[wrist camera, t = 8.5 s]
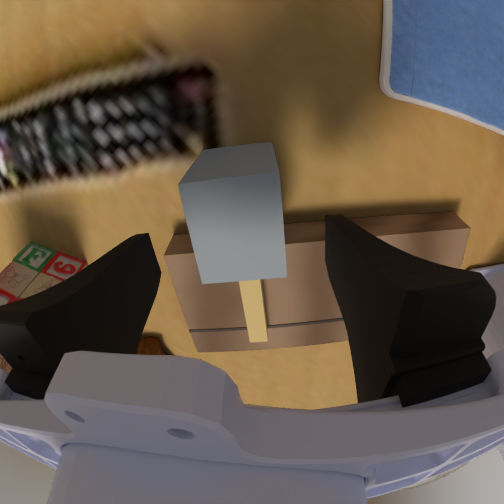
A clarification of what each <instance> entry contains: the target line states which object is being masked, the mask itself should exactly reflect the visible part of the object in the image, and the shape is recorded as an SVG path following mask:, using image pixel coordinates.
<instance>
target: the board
mask: <svg viewBox="0 0 504 504" xmlns="http://www.w3.org/2000/svg"><path fill="white" fill-rule="evenodd" d="M349 220H351V221H352V222H354V223H355V224H357V225H358V226H360V227H361V228H363V229H365V230H366V231H368V232H369V233H371V234H372V235H374V236H376V237H377V238H379V239H381V240H383V241H385V242H386V243H388V244H390V245H392V246H394V247H396V248H398V249H400V250H403V251H405V252H407V253H409V254H412V255H414V256H417V257H420V258H422V259H425V260H428V261H431V262H434V263H438V264H441V265H445V266H449V267H453V268H457V269H460V266H461V263H462V260H463V256H464V253H465V249H466V245H467V241H468V237H469V233H470V229H471V228H470V227H469V226H468V225H467V224H466V223H465V222H464V221H462V220H461V219H460V218H459V217H458V216H457V215H456V214H455V213H454V212H440V213H422V214H406V215H390V216H376V217H362V218H349ZM284 237H285V252H286V268H287V277H284V278H272V279H261V281H262V289H263V297H264V306H265V314H266V322H267V331H268V341H266V342H251V343H250V340H249V335H248V329H247V324H246V318H245V313H244V308H243V302H242V297H241V291H240V286H239V281H236V282H223V283H209V284H202V281H201V277H200V273H199V270H198V266H197V262H196V258H195V254H194V250H193V246H192V242H191V238H190V234H180V235H173V237H172V239H171V241H170V243H169V245H168V248H167V250H166V252H165V254H164V258H165V261H166V265H167V268H168V271H169V274H170V277H171V280H172V283H173V286H174V289H175V292H176V295H177V297H178V300H179V303H180V306H181V309H182V312H183V314H184V317H185V320H186V323H187V325H188V328H189V332H190V333H191V336H192V339H193V341H194V344H195V346H196V349H197V351H198V352H224V351H245V350H262V349H275V348H287V347H298V346H308V345H317V344H325V343H333V342H341V341H348V335H347V330H346V327H345V323H344V320H343V317H342V314H341V311H340V308H339V306H338V303H337V300H336V297H335V294H334V291H333V289H332V286H331V283H330V280H329V276H328V272H327V267H326V262H325V220H324V221H312V222H300V223H289V224H284Z"/></svg>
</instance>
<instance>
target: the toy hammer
mask: <svg viewBox="0 0 504 504" xmlns="http://www.w3.org/2000/svg"><path fill="white" fill-rule="evenodd" d="M178 187H179V191H180V196H181V200H182V204H183V209H184V213H185V217H186V222H187V226H188V230H189V234H190V238H191V242H192V246H193V250H194V254H195V258H196V262H197V266H198V270H199V273H200V277H201V281H202V284H209V283H223V282H236V281H239V286H240V291H241V297H242V302H243V308H244V313H245V318H246V324H247V329H248V335H249V340H250V343H251V342H266V341H268V331H267V322H266V314H265V306H264V297H263V289H262V281H261V279H272V278H284V277H287V268H286V252H285V237H284V223H283V210H282V197H281V185H280V173H279V168H278V164H277V160H276V156H275V152H274V148H273V144H272V142H264V143H254V144H245V145H236V146H228V147H221V148H213V149H206V150H202V152H201V153H200V154H199V156H198V157H197V159H196V160H195V161H194V163H193V164H192V165H191V167H190V168H189V170H188V171H187V172H186V174H185V175H184V177H183V178H182V179H181V181H180V182H179V184H178Z"/></svg>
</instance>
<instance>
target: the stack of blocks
mask: <svg viewBox="0 0 504 504" xmlns="http://www.w3.org/2000/svg"><path fill="white" fill-rule="evenodd" d="M87 266H88V264H87V262H85V261H82V260H79V259H77V258H74V257H71V256H68V255H65V254H63V253H60V252H56V251H53V250H51V249H48V248H45V247H43V246H40V245H38V244H35V243H33V242H30V243H29V244H28V245H27V246H26V247H25V248H24V249H23V250H21V251H20V252H19V253H18V254H17V255H16V257H15V258H13V260H12V262H11V263H10V264H9V265H8V266H7V267H6V268H5V269H4V270H3V271H2V272H1V273H0V306H1V305H5V304H8V303H11V302H14V301H18V300H21V299H24V298H26V297H29V296H32V295H34V294H37V293H39V292H41V291H44V290H46V289H48V288H50V287H52V286H54V285H56V284H58V283H60V282H62V281H64V280H66V279H67V278H69V277H71V276H73V275H74V274H76V273H78V272H79V271H81V270H83V269H84V268H86V267H87ZM0 369H3V370H5V371H6V372H8V373H10V371H11V369H12V367H11V366H10V365H9V364H8V363H7V361H6V360H5V359H4V358H3V356H2V355H1V354H0Z"/></svg>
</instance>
